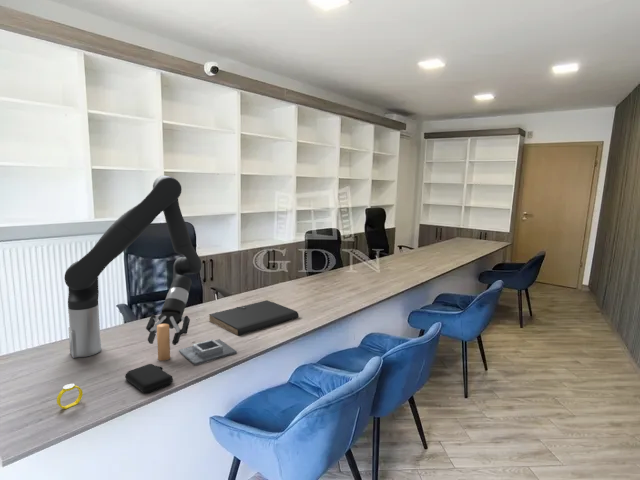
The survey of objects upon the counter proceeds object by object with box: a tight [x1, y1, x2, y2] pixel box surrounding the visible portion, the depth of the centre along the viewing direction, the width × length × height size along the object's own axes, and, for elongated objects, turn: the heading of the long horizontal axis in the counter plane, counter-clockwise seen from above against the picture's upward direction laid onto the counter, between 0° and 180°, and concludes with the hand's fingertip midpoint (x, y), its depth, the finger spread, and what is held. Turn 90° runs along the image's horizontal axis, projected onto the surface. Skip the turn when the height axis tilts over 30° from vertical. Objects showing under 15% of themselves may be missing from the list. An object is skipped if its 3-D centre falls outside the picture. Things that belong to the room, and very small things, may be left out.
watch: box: [56, 383, 84, 410], centre depth 104 cm, size 6×3×6 cm, turn 148°
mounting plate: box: [178, 338, 238, 366], centre depth 140 cm, size 16×14×3 cm
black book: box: [208, 299, 300, 337], centre depth 176 cm, size 33×4×24 cm
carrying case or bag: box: [124, 363, 173, 394], centre depth 119 cm, size 11×3×15 cm
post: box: [156, 324, 171, 362], centre depth 134 cm, size 4×4×12 cm
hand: (162, 343), depth 133 cm, fingers open, 8 cm apart
